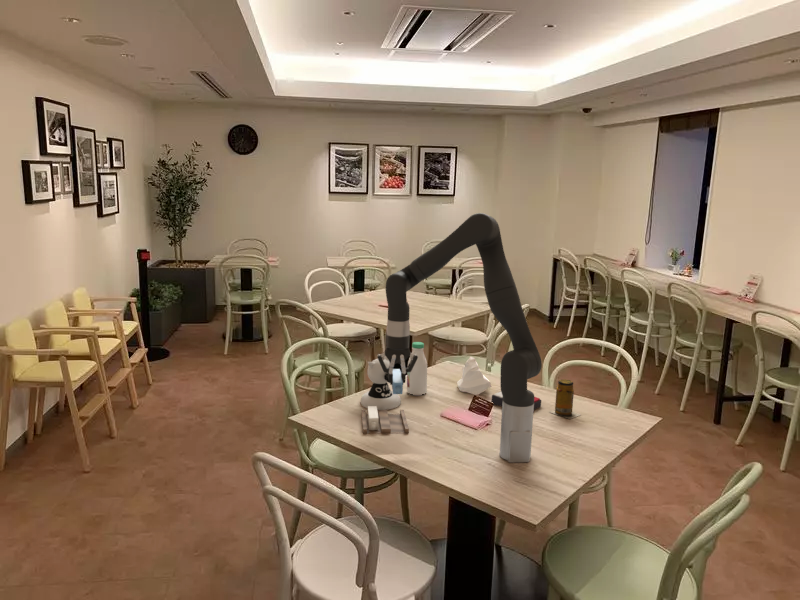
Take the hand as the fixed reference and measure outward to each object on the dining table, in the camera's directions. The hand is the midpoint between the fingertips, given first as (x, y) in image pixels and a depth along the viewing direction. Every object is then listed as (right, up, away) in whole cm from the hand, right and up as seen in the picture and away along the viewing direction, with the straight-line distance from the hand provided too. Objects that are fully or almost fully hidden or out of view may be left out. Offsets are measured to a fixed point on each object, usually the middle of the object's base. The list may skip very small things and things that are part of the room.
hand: (396, 383), depth 204 cm
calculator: (+44, -12, +27) cm, 53 cm away
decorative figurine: (-6, -12, +21) cm, 25 cm away
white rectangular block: (-8, -13, +2) cm, 16 cm away
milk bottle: (+8, -9, +38) cm, 39 cm away
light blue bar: (0, -1, +1) cm, 1 cm away
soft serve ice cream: (+30, -8, +43) cm, 53 cm away
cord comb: (-4, -15, +2) cm, 16 cm away
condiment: (+61, -14, +19) cm, 65 cm away
